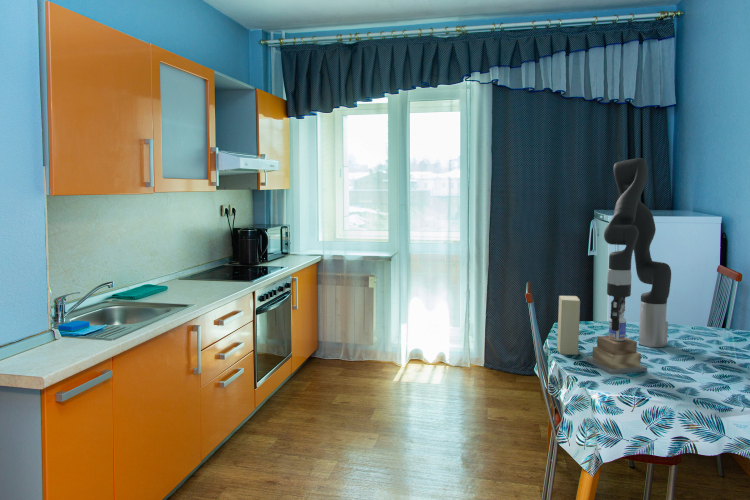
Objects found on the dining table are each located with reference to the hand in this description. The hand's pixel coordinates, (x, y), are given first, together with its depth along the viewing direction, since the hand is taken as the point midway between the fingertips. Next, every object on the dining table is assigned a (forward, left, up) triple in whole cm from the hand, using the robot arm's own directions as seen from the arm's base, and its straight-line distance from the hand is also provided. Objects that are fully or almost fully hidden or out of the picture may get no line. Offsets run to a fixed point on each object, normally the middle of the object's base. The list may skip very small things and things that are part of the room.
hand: (617, 327), depth 185 cm
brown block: (0, 0, -13) cm, 13 cm away
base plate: (0, 0, -14) cm, 14 cm away
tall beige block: (+7, -19, -14) cm, 24 cm away
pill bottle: (0, 0, -4) cm, 4 cm away
